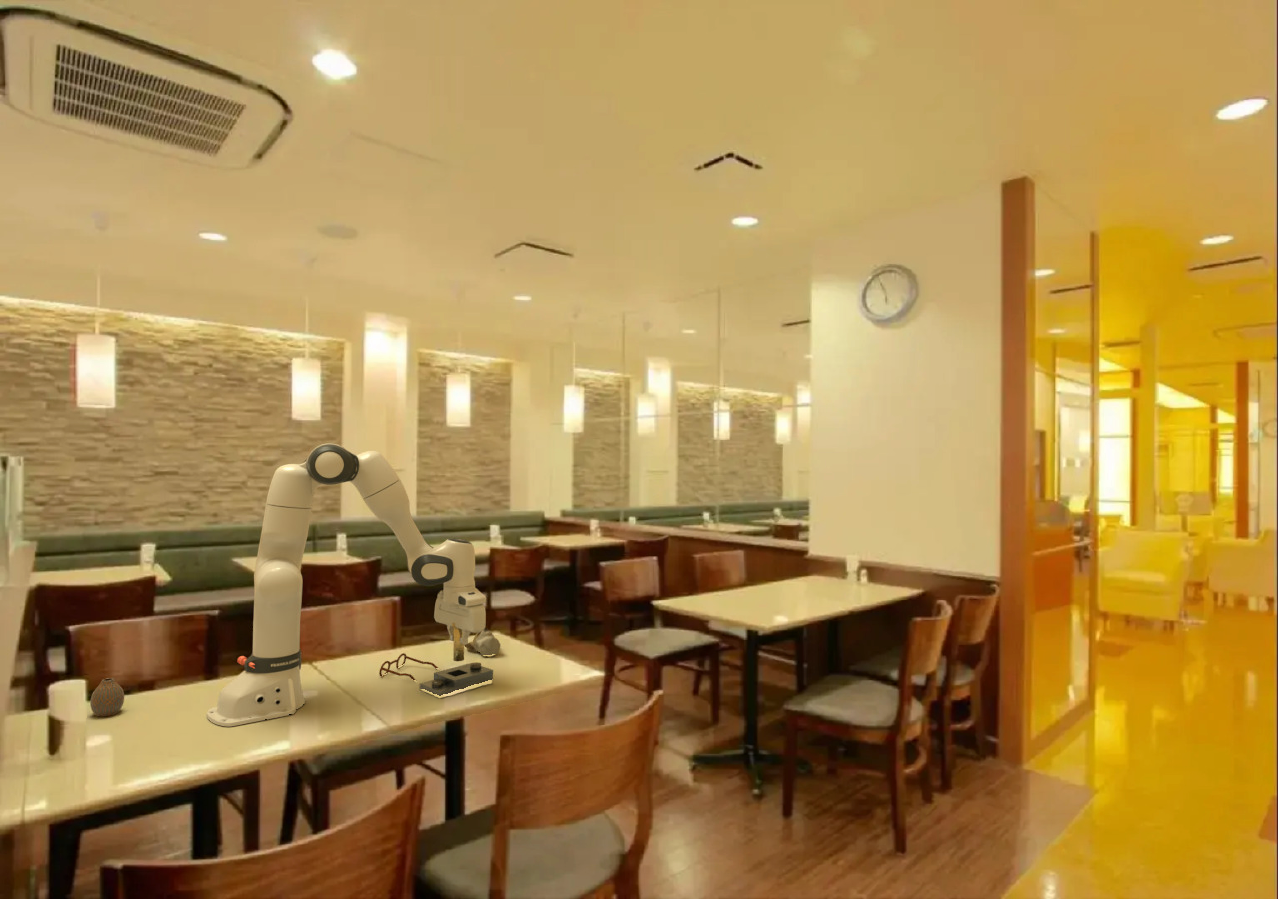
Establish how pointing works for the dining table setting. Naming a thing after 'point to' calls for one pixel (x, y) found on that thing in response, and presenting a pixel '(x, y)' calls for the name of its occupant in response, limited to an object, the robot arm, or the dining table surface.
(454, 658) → the pin
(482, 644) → the ceramic sculpture
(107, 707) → the vase
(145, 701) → the dining table surface
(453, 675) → the metal plate with knobs
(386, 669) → the glasses
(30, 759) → the dining table surface
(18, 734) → the dining table surface
